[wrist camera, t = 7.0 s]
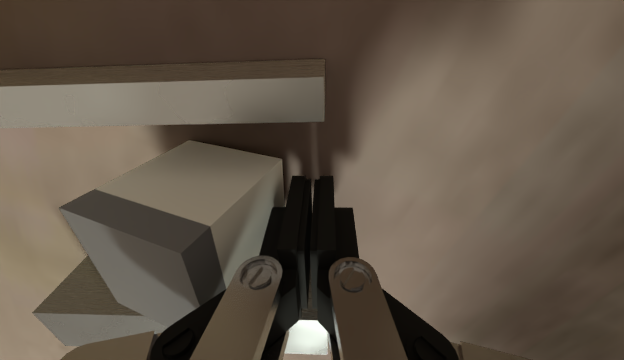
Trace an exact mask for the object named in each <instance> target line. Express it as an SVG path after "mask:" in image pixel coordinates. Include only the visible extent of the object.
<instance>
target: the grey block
mask: <svg viewBox="0 0 624 360" xmlns="http://www.w3.org/2000/svg"><path fill="white" fill-rule="evenodd" d="M273 207H285V201H284V184H283V167H282V159H280V158H275V157H270V156H265V155H260V154H255V153H251V152H246V151H241V150H236V149H231V148H226V147H221V146H216V145H211V144H206V143H202V142H197V141H192V140H189V141H187V142H185V143H183V144H181V145H179V146H177V147H175V148H173V149H171V150H169V151H167V152H165V153H163V154H161V155H160V156H158V157H156V158H154V159H152V160H150V161H148V162H146V163H144V164H142V165H140V166H138V167H136V168H134V169H133V170H131V171H129V172H127V173H125V174H123V175H121V176H119V177H117V178H115V179H113V180H111V181H109V182H107V183H106V184H104V185H102V186H100V187H98V188H96V189H94V190H92V191H90V192H88V193H86V194H84V195H82V196H80V197H78V198H77V199H75V200H73V201H71V202H69V203H67V204H65V205H63V206H61V207H59V209H60V211H61V212H62V214H63V216H64V217H65V219H66V220H67V222H68V224H69V225H70V227H71V228H72V230H73V232H74V233H75V235H76V236H77V238H78V240H79V241H80V243H81V244H82V246H83V248H84V249H85V251H86V252H87V254H88V256H89V257H90V259H91V260H92V262H93V264H94V265H95V267H96V268H97V270H98V272H99V273H100V275H101V276H102V278H103V280H104V281H105V283H106V284H107V286H108V288H109V289H110V291H111V292H112V294H113V296H114V297H115V299H116V300H117V302H118V303H120V304H122V305H124V306H126V307H128V308H130V309H132V310H134V311H136V312H138V313H140V314H142V315H144V316H146V317H148V318H150V319H152V320H154V321H156V322H158V323H160V324H162V325H164V326H166V327H169V326H171V325H172V324H174V323H175V322H177V321H178V320H180V319H181V318H183V317H184V316H186V315H187V314H189V313H190V312H192V311H193V310H195V309H196V308H198V307H199V306H201V305H203V304H204V303H206V302H207V301H209V300H210V299H212V298H213V297H215V296H216V295H218V294H219V293H221V292H222V291H224V290H225V289H227V287H228V286H229V284H230V282H231V280H232V278H233V276H234V274H235V272H236V270H237V269H238V268H239V266H240V265H241V264H242V263H243V262H245V261H246V260H248V259H250V258H252V257H255V256H259V253H260V250H261V246H262V242H263V239H264V235H265V231H266V228H267V224H268V220H269V217H270V213H271V210H272V208H273Z"/></svg>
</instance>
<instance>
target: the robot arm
mask: <svg viewBox="0 0 624 360" xmlns="http://www.w3.org/2000/svg"><path fill="white" fill-rule="evenodd" d="M310 267H311V291H312V309H317V317H318V322H319V323H320V324H321V325H322V326H323V327H324V329H325V330H326V331H327V332H328V340H329V347H330V354H331V360H531V359H527V358H524V357H520V356H516V355H512V354H508V353H504V352H500V351H497V350H493V349H489V348H485V347H481V346H477V345H473V344H470V343H466V342H462V341H461V342H460V344H456V343H452V342H450V341H449V340H448V339H446V338H445V337H444V336H443V335H442V334H441V333H440V332H438V331H437V330H436V329H434V328H433V327H432V326H430V325H429V324H428V323H427V322H425V321H424V320H423V319H421V318H420V317H419V316H417V315H416V314H415V313H413V312H412V311H411V310H409V309H408V308H407V307H406V306H404V305H403V304H402V303H400V302H399V301H398V300H396V299H395V298H394V297H392V296H391V295H390V294H388V293H387V292H386V291H385V290H383V289H382V288H381V285H380V282H379V280H378V277H377V274H376V272H375V270H374V269H373V267H372V266H371V265H370V264H369V263H367V262H366V261H364V260H362V259H359V254H358V246H357V238H356V230H355V222H354V214H353V208H334V181H333V176H320V179H315V184H314V198H313V212H312V195H311V179H306V176H292V180H291V184H290V189H289V194H288V199H287V204H286V207H273V208H272V210H271V213H270V217H269V220H268V224H267V228H266V231H265V235H264V239H263V242H262V246H261V250H260V253H259V256H255V257H252V258H250V259H248V260H246V261H245V262H243V263H242V264H241V265H240V266H239V268H238V269H237V270H236V272H235V274H234V276H233V278H232V280H231V282H230V284H229V286H228V287H227V289H225V290H224V291H222V292H221V293H219V294H218V295H216V296H215V297H213V298H212V299H210V300H209V301H207V302H206V303H204V304H203V305H201V306H199V307H198V308H196V309H195V310H193V311H192V312H190V313H189V314H187V315H186V316H184V317H183V318H181V319H180V320H178V321H177V322H175V323H174V324H172V325H171V326H169V327H168V328H167V329H166V330H164V331H163V332H162V333H158V334H157V333H156V332H155V331H150V332H145V333H140V334H135V335H129V336H124V337H119V338H114V339H109V340H104V341H99V342H94V343H89V344H85V345H82V346H79V347H77V348H75V349H74V350H72V351H70V352H69V353H67V354H66V355H65V356H64V357H63V358H62V359H61V360H283V356H284V352H285V349H286V345H287V341H288V337H289V331H290V328H291V327H292V326H293V325H294V324H296V323H297V322H298V321H299V318H301V317H302V309H308V298H309V283H310Z"/></svg>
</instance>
